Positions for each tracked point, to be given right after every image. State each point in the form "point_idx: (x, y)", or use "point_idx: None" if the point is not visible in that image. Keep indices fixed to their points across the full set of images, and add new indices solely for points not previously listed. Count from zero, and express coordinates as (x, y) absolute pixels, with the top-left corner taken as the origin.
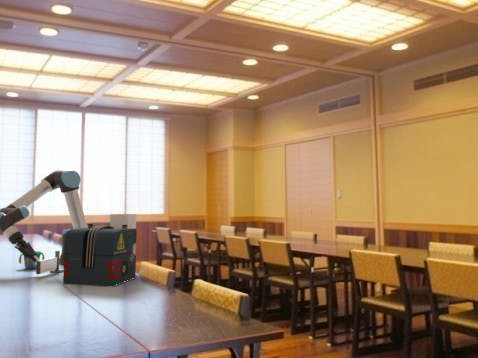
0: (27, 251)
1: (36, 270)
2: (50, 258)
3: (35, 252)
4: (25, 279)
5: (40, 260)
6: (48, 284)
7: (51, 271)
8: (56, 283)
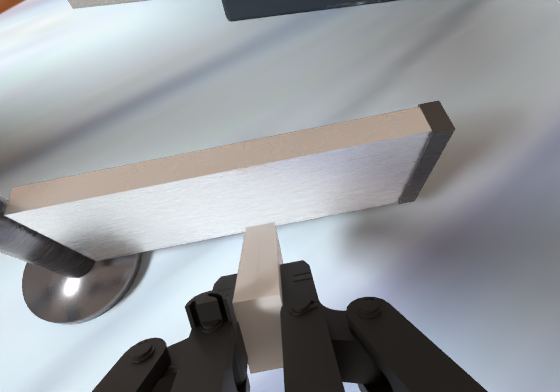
0: (415, 380)
1: (422, 184)
2: (161, 165)
3: (116, 375)
4: (514, 232)
5: (376, 137)
6: (543, 22)
7: (130, 273)
8: (493, 14)
